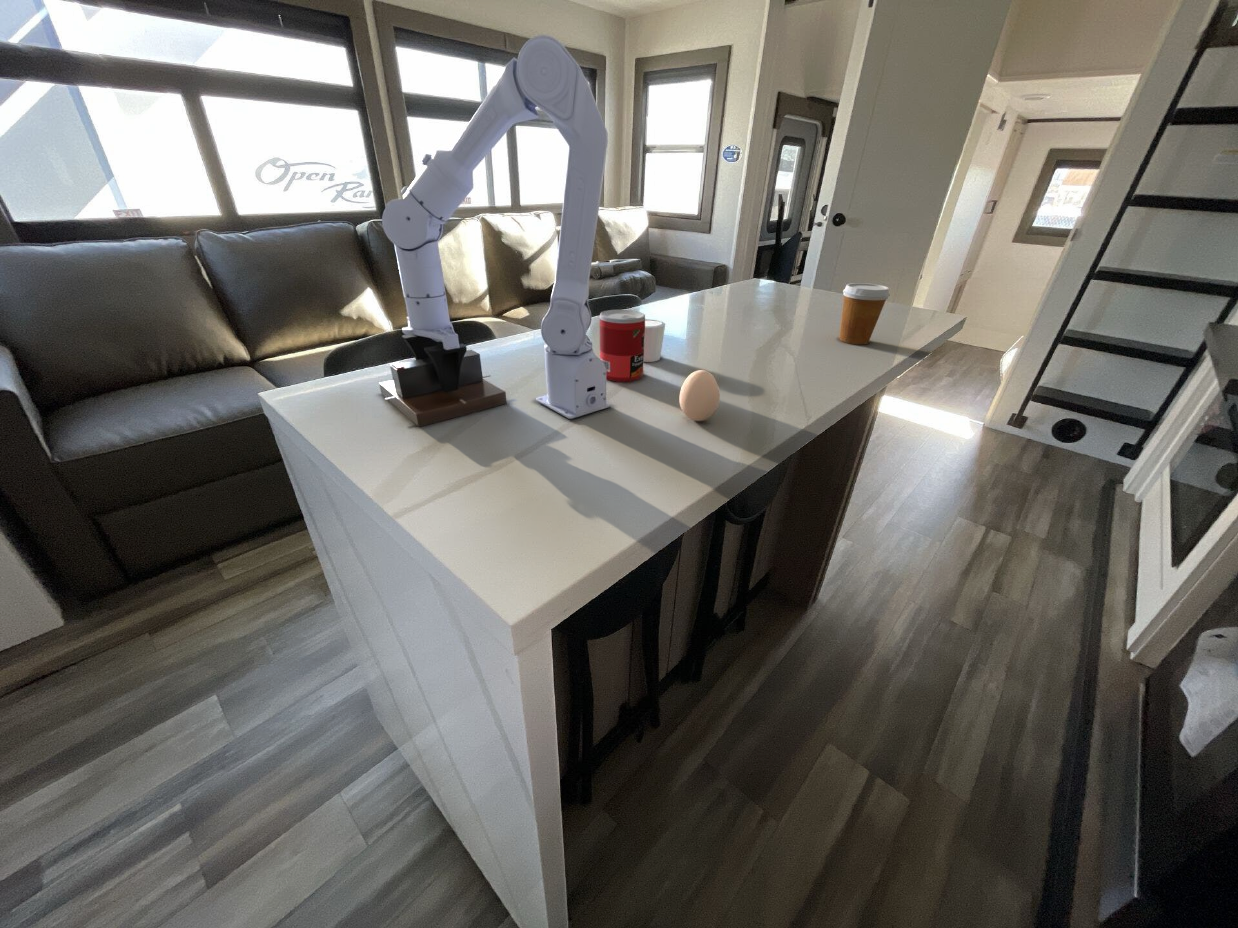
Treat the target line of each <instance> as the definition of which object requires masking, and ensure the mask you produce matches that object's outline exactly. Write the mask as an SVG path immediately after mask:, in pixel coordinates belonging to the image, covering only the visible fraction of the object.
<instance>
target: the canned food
mask: <svg viewBox="0 0 1238 928" xmlns="http://www.w3.org/2000/svg"><path fill="white" fill-rule="evenodd" d="M645 319H646V314H645V313H643V312H642V311H638V310H632V309H609V310H608V309H607V310H604V311H601V312H600V313H599V359H600V360H602V362H603V363H604V365H605V367H606V381H610V382H611V381H612V382H616V383H617V382H618V383H627V382H635V381H638V380H639V379H641V378H642V375H643V374H644V373H643V372H644V362H643V361H644V339H645Z"/></svg>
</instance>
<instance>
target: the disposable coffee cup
mask: <svg viewBox="0 0 1238 928" xmlns="http://www.w3.org/2000/svg"><path fill="white" fill-rule="evenodd" d="M842 293H843V301H842V311H841V318H840V319H841V320H840V328H839V329H840V330H839V339H838V340H839V341H841V342H843V343H846V344H850V345H867V344H869V342H870V340H871V337H872V336H873V333H874V330H875V328H876V326H877V323H878V320H879V318H880V315H881V313H882V311H883V308H884V307H885V303H886V301H887V300H888V298H889V297H890V288H889V287H888V286H886V285H882V284H876V283H868V282H867V283H866V282H865V283H864V282H856V283H855V282H852V283H847V284H846V285H845V288H844V289H842Z"/></svg>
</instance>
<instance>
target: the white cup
mask: <svg viewBox="0 0 1238 928" xmlns="http://www.w3.org/2000/svg"><path fill="white" fill-rule="evenodd" d="M665 327H666V323H665V322H663V321H662V320H657V319H647V318H645V339H644V361H643V363H653V362H658V361H659V360H660V359H661V355H662V349H663V342H664V336H665V330H666V329H665Z"/></svg>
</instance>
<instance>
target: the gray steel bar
mask: <svg viewBox="0 0 1238 928" xmlns="http://www.w3.org/2000/svg"><path fill="white" fill-rule="evenodd" d="M389 369H390V373H391V376H392V380H393V382H394V386H395V391H396V394H397V395H399V396H400V397H401V398H402V399H406V398H410V397H414V396H419V395H423V394H428V393H432V392H436V391H441V390H443V389H442V387H441V385H440V382H439V378H438V375H437V372H436V369H435V367H434V365H433V363H432V361H431V359H430V358H424V359H419V360H416V359H415V360H409V361H404V362H403V361H402V362H398V361H396V362H392V363H390V365H389ZM483 376H484V375H483V369H482V361H481V354H480V353H478V352H477V351H475V350H474V349H467V351H466V353H465V355H464V358H463V360H462V364H461V368H460V376H459V386H462V385H467V384H471V383H475V382H480V381H483V379H484V378H483Z"/></svg>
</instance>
